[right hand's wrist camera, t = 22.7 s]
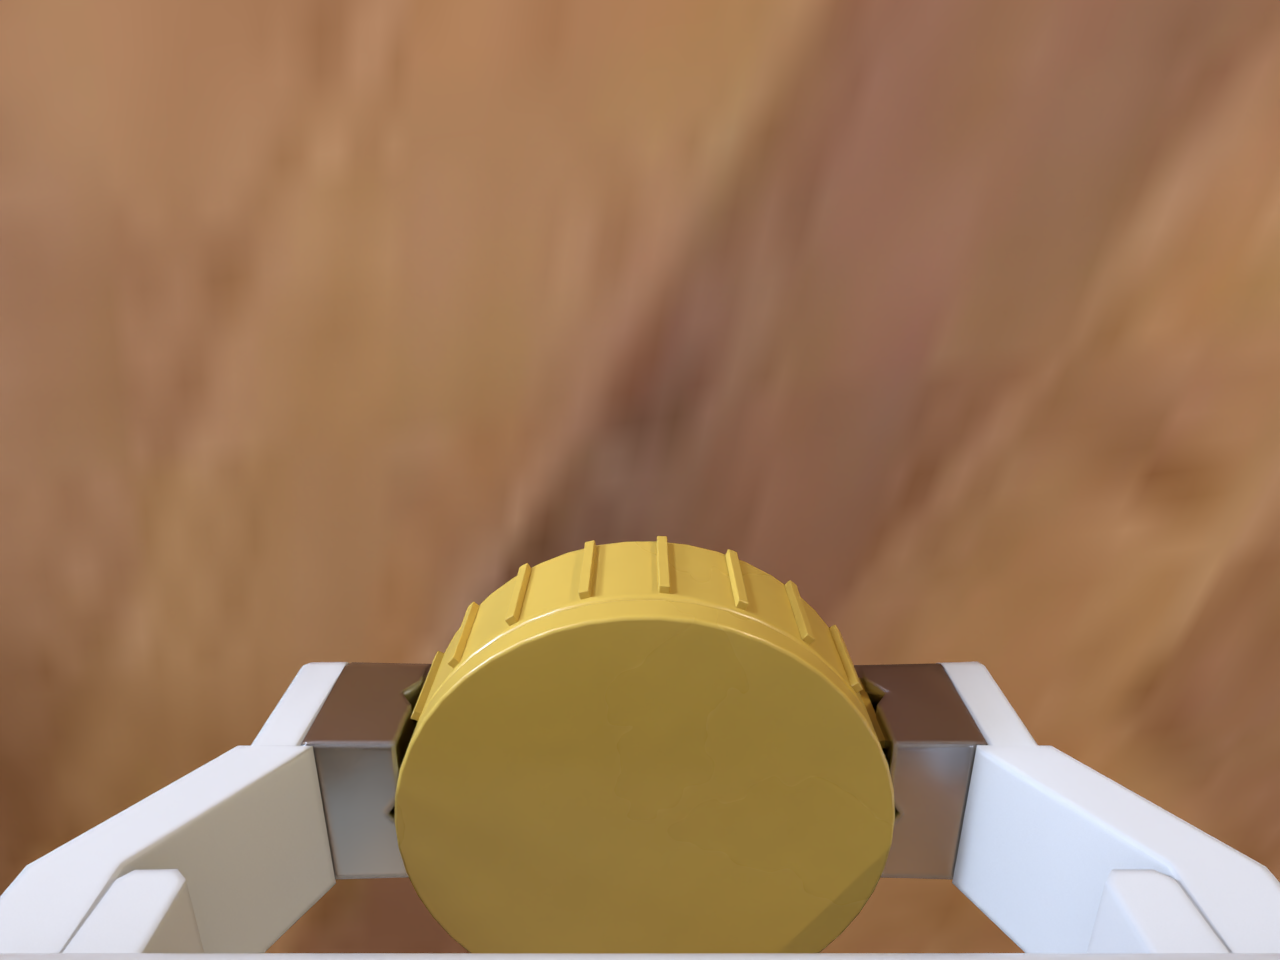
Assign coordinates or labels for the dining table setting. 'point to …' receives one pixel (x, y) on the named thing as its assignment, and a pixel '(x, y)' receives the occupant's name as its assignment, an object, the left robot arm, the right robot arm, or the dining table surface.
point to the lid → (644, 764)
